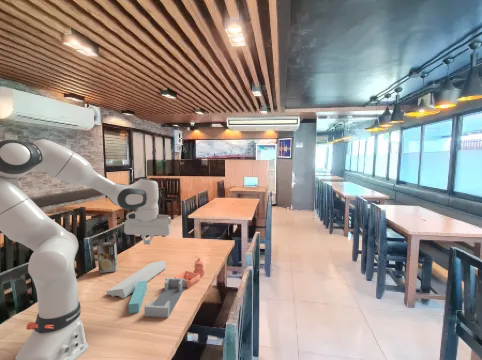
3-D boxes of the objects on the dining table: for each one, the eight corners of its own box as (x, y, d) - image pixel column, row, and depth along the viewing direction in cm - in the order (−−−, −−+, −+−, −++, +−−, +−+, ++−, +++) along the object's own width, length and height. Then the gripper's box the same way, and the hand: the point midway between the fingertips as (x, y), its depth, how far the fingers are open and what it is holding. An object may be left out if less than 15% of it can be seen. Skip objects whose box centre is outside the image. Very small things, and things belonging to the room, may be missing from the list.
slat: (138, 314, 106) (138, 303, 106) (128, 315, 105) (128, 304, 105) (146, 290, 126) (146, 280, 125) (138, 290, 125) (138, 281, 124)
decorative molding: (109, 300, 119) (125, 298, 116) (106, 291, 119) (122, 288, 116) (152, 270, 152) (166, 268, 149) (150, 262, 152) (164, 260, 149)
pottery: (189, 289, 126) (188, 270, 125) (174, 285, 131) (174, 267, 130) (209, 275, 142) (209, 258, 141) (196, 271, 147) (195, 255, 146)
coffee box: (118, 267, 151) (117, 241, 150) (115, 271, 145) (114, 244, 144) (101, 268, 149) (100, 242, 147) (98, 273, 142) (97, 246, 141)
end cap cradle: (168, 319, 102) (168, 307, 102) (144, 318, 103) (144, 306, 103) (185, 288, 127) (185, 278, 127) (166, 287, 128) (166, 277, 127)
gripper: (173, 213, 115) (172, 242, 116) (128, 212, 115) (128, 241, 116) (169, 216, 109) (168, 247, 110) (122, 214, 109) (122, 245, 110)
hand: (147, 244), depth 113 cm, fingers closed
